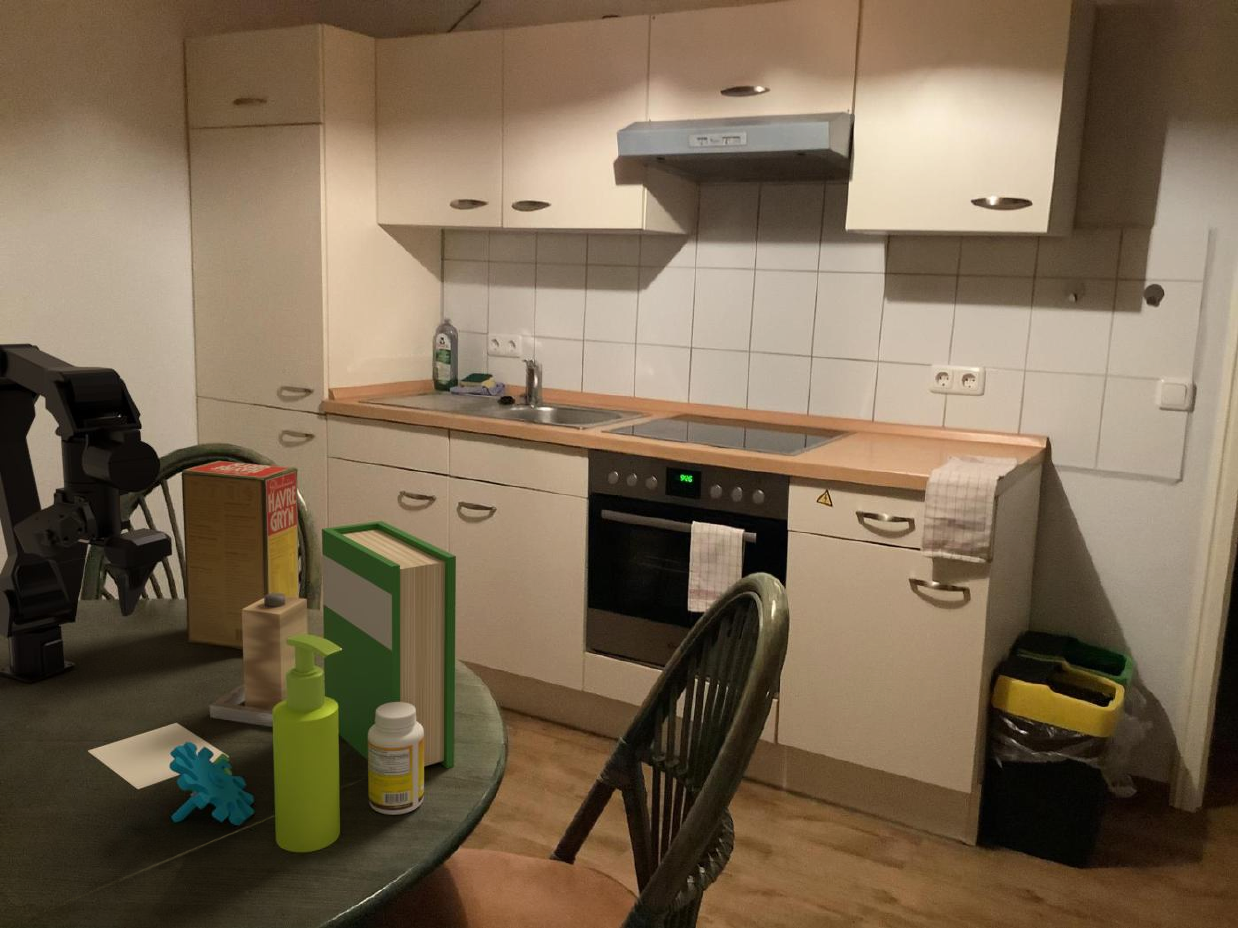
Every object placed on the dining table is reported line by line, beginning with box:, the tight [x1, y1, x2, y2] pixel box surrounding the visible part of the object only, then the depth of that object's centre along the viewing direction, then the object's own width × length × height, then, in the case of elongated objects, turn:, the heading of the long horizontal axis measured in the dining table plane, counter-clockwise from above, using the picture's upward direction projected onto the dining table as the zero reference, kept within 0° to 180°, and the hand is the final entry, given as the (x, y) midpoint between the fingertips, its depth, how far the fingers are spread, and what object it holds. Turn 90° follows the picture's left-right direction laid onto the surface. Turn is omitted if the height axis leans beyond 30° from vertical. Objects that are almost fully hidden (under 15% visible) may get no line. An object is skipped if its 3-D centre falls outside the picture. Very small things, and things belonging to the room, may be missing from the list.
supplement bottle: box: [367, 702, 425, 816], centre depth 103 cm, size 6×6×10 cm
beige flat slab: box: [87, 722, 230, 790], centre depth 112 cm, size 12×10×1 cm
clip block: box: [242, 593, 308, 710], centre depth 124 cm, size 5×6×14 cm
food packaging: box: [180, 460, 300, 650], centre depth 146 cm, size 13×9×25 cm
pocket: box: [209, 682, 325, 728], centre depth 125 cm, size 11×11×2 cm
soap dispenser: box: [272, 633, 342, 853], centre depth 96 cm, size 6×7×20 cm
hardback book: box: [321, 520, 457, 769], centre depth 115 cm, size 18×7×24 cm, turn 39°
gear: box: [169, 742, 255, 826], centre depth 100 cm, size 11×6×10 cm
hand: (99, 608), depth 120 cm, fingers open, 9 cm apart
